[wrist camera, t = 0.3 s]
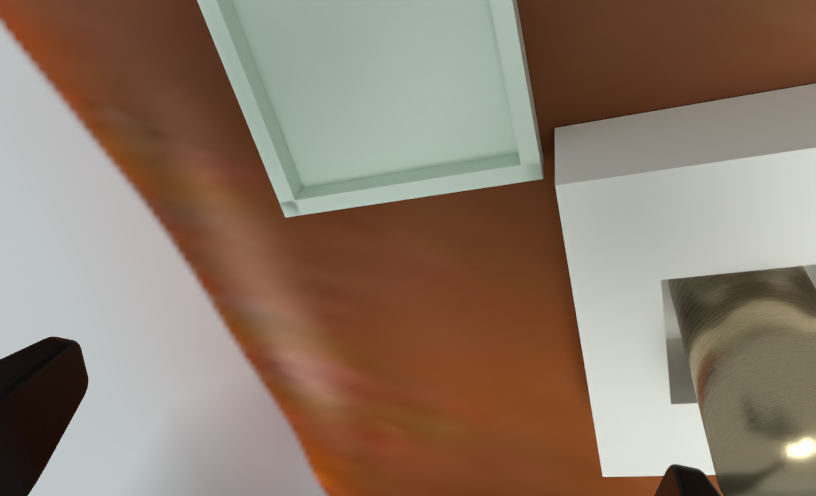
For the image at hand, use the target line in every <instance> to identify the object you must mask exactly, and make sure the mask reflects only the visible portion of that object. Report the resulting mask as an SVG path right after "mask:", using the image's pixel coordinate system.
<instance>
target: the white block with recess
mask: <svg viewBox="0 0 816 496" xmlns="http://www.w3.org/2000/svg"><path fill="white" fill-rule="evenodd" d="M555 188H556V194H557V200H558V207H559V213H560V219H561V225H562V231H563V237H564V243H565V249H566V255H567V261H568V268H569V274H570V280H571V286H572V292H573V298H574V304H575V310H576V316H577V322H578V329H579V335H580V341H581V347H582V353H583V359H584V365H585V371H586V377H587V383H588V390H589V396H590V402H591V408H592V414H593V420H594V426H595V432H596V438H597V445H598V451H599V457H600V463H601V469H602V475H603V477H624V476H664V474H665V472H666V470H667V469H668V467H669V466H670V465H672V464H678V465H683V466H688V467H692V468H697V469H699V470H701V471H702V472H703V473H705V475H716V474H715V470H714V466H713V462H712V458H711V454H710V450H709V446H708V442H707V438H706V434H705V430H704V426H703V422H702V418H701V414H700V410H699V406H698V402H697V398H696V394H695V390H694V386H693V382H692V378H691V374H690V370H689V366H688V362H687V358H686V354H685V350H684V346H683V342H682V338H681V334H680V330H679V326H678V322H677V318H676V314H675V310H674V306H673V302H672V298H671V294H670V290H669V284H668V279H676V278H686V277H696V276H706V275H716V274H726V273H736V272H746V271H756V270H766V269H776V268H786V267H796V266H803V267H804V269H805V271H806V272H807V274H808V276H809V278H810V279H811V281H812V283H813V285H814V287H815V288H816V83H815V84H809V85H803V86H798V87H792V88H786V89H780V90H774V91H768V92H762V93H757V94H751V95H745V96H739V97H733V98H727V99H721V100H716V101H710V102H704V103H698V104H692V105H686V106H681V107H675V108H669V109H663V110H657V111H651V112H645V113H640V114H634V115H628V116H622V117H616V118H610V119H604V120H599V121H593V122H587V123H581V124H575V125H569V126H563V127H558V128H555Z"/></svg>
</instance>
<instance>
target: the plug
mask: <svg viewBox="0 0 816 496" xmlns="http://www.w3.org/2000/svg"><path fill="white" fill-rule="evenodd" d="M668 284H669V290H670V294H671V298H672V302H673V306H674V310H675V314H676V318H677V322H678V326H679V330H680V334H681V338H682V342H683V346H684V350H685V354H686V358H687V362H688V366H689V370H690V374H691V378H692V382H693V386H694V390H695V394H696V398H697V402H698V406H699V410H700V414H701V418H702V422H703V426H704V430H705V434H706V438H707V442H708V446H709V450H710V454H711V458H712V462H713V466H714V470H715V474H716V478H717V482H718V485H719V488H720V490H721V492H722V493H723V495H724V496H816V288H815V287H814V285H813V283H812V281H811V279H810V278H809V276H808V274H807V272H806V271H805V269H804V267H803V266H796V267H786V268H776V269H766V270H756V271H746V272H736V273H726V274H716V275H706V276H696V277H686V278H676V279H668Z"/></svg>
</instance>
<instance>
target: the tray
mask: <svg viewBox="0 0 816 496" xmlns="http://www.w3.org/2000/svg"><path fill="white" fill-rule="evenodd" d="M197 1H198V4H199V6H200V9H201V11H202V14H203V16H204V19H205V21H206V24H207V26H208V29H209V31H210V33H211V36H212V38H213V41H214V43H215V46H216V48H217V51H218V53H219V56H220V58H221V60H222V63H223V65H224V68H225V70H226V73H227V75H228V78H229V80H230V83H231V85H232V88H233V90H234V92H235V95H236V97H237V100H238V102H239V105H240V107H241V110H242V112H243V115H244V117H245V119H246V122H247V124H248V127H249V129H250V132H251V134H252V137H253V139H254V142H255V144H256V147H257V149H258V151H259V154H260V156H261V159H262V161H263V164H264V166H265V169H266V171H267V174H268V176H269V178H270V181H271V183H272V186H273V188H274V191H275V193H276V196H277V198H278V201H279V203H280V206H281V208H282V210H283V213H284V215H285V217H292V216H299V215H306V214H312V213H319V212H326V211H332V210H339V209H346V208H352V207H359V206H366V205H373V204H379V203H386V202H393V201H399V200H406V199H413V198H419V197H426V196H433V195H440V194H446V193H453V192H460V191H466V190H473V189H480V188H486V187H493V186H500V185H507V184H513V183H520V182H527V181H533V180H540V179H543V164H544V158H543V152H542V146H541V140H540V134H539V128H538V122H537V116H536V111H535V105H534V99H533V93H532V87H531V81H530V75H529V69H528V63H527V58H526V52H525V46H524V40H523V34H522V28H521V22H520V16H519V10H518V5H517V0H197Z"/></svg>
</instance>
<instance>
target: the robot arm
mask: <svg viewBox="0 0 816 496" xmlns="http://www.w3.org/2000/svg"><path fill="white" fill-rule="evenodd" d="M87 387H88V375H87V371H86V367H85V363H84V359H83V355H82V351H81V347H80V345H79V344H78V343H77V342H76V341H74V340H69V339H64V338H60V337H48V338H46V339H43V340H41V341H39V342H37V343H35V344H33V345H30V346H28V347H26V348H24V349H22V350H20V351H18V352H15V353H14V354H11V355H9V356H7V357H5V358H3V359H0V496H28V494H29V493H30V491H31V490H32V488H33V487H34V485H35V484H36V482H37V480H38V479H39V477H40V475H41V474H42V472H43V470H44V469H45V467H46V465H47V463H48V461H49V459H50V458H51V456H52V454H53V452H54V450H55V449H56V446H57V445H58V443H59V441H60V439H61V437H62V436H63V434H64V432H65V430H66V428H67V427H68V425H69V423H70V421H71V419H72V417H73V416H74V414H75V412H76V410H77V408H78V406H79V404H80V402H81V401H82V399H83V397H84V395H85V393H86V390H87ZM654 496H721V495H720V493H719V492H718V491H717V489H716V488H715V487H714V485H713V484H712V483H711V481H710V480H709V479H708V477H707V476H706V475H705V473H703V472H702V471H701V470H699V469H697V468H692V467H688V466H683V465H678V464H672V465H670V466H669V467H668V469H667V470H666V472H665V474H664V477H663V479H662V481H661V483H660V485H659V487H658V489H657V491H656V493H655V495H654Z"/></svg>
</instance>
